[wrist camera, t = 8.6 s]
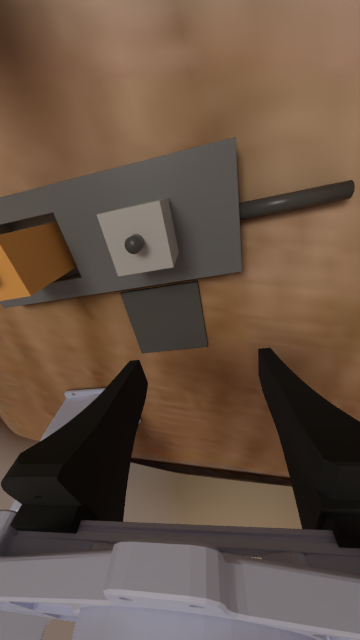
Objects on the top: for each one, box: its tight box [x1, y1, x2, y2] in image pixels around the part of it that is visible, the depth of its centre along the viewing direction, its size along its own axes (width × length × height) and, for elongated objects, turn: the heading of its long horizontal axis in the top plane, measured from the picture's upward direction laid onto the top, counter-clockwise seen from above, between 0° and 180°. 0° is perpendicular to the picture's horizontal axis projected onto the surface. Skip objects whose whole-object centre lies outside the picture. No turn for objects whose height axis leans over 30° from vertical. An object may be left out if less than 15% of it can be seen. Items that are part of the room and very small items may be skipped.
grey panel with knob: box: [0, 137, 355, 308], centre depth 16 cm, size 32×9×7 cm, turn 101°
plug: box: [0, 222, 77, 301], centre depth 17 cm, size 4×4×8 cm
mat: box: [121, 281, 208, 353], centre depth 24 cm, size 8×8×1 cm
